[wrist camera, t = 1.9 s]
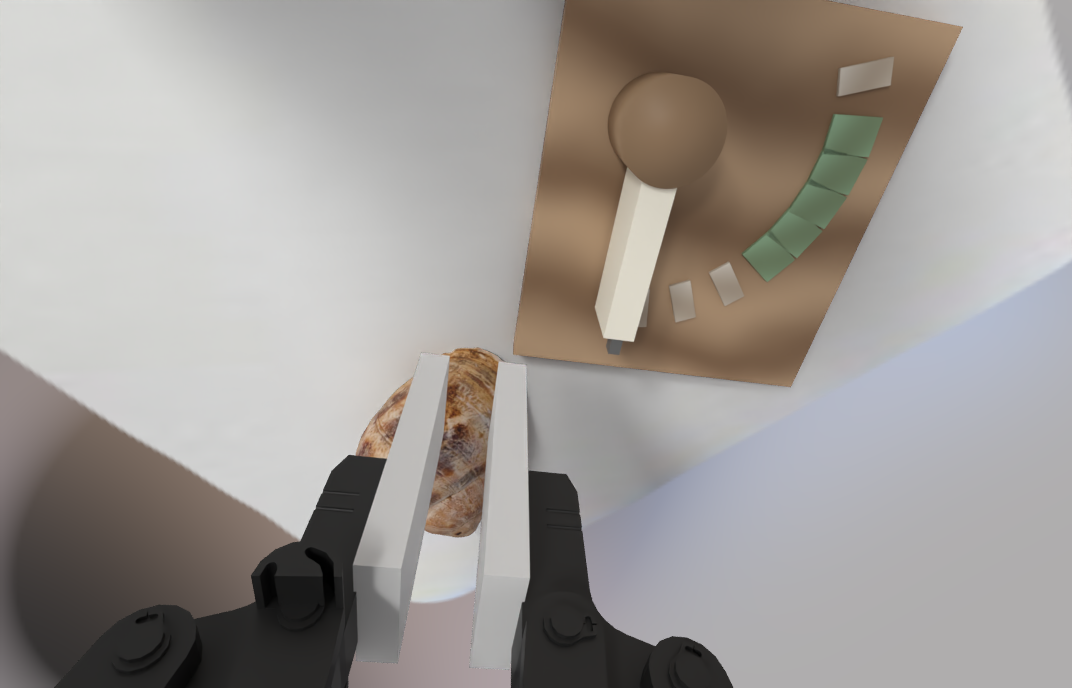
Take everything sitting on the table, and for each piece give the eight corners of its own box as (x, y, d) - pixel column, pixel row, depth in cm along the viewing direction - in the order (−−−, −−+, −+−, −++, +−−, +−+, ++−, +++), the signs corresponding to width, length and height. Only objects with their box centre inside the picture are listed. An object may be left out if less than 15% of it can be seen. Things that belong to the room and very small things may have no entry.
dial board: (571, -45, 23) (575, -50, 22) (944, 27, 25) (966, 26, 23) (513, 344, 33) (513, 356, 31) (782, 376, 34) (792, 388, 33)
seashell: (553, 465, 37) (473, 587, 30) (456, 443, 42) (368, 543, 35) (514, 341, 32) (407, 455, 25) (409, 332, 36) (295, 425, 30)
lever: (619, 64, 24) (636, 67, 20) (710, 80, 24) (742, 86, 21) (567, 318, 30) (573, 353, 27) (640, 327, 31) (655, 363, 27)
